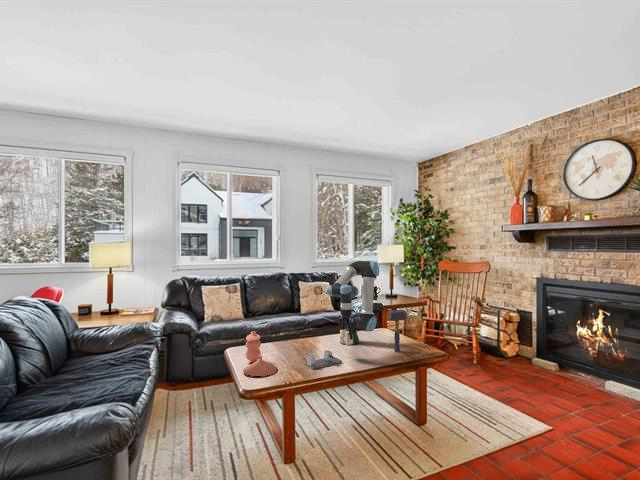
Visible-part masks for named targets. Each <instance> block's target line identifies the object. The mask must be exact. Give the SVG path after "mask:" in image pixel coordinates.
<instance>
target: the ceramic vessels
mask: <svg viewBox="0 0 640 480" xmlns="http://www.w3.org/2000/svg"><path fill="white" fill-rule="evenodd" d="M260 339H261V336H260V335H259V334H257V332H256V331H250V334H248V335H247V336H246V337H245V340H246V343H245V348H246V352H245V358H246V359H247V360H248V361H249V362H253V363H252V364H249V365H247V367H245V368H244V369H242V373H243V372H244V373H245V374H247V375H246V376H248V375H250V376H249V377H253V376H261V377H267V375H268V376H271V375H274V374H276V373H277V372H278V370H279V369H278V367H277V366H275V365H273V364H271V363H269V362H268V361H266V360H264V359H263V355H262V353H261V350H260V349H259V348H260V347H261V345H262V343H261V340H260ZM244 373H243V374H244ZM245 374H244V375H245Z"/></svg>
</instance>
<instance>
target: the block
mask: <svg viewBox="0 0 640 480" xmlns="http://www.w3.org/2000/svg"><path fill="white" fill-rule="evenodd" d="M348 334H349V331H348V330H347V329H344V330H340V329H339V343H340V342H341V343H340V344H342V343H344V344H343V345H345V344H346V346H351V345H350V344H348ZM352 344H353V339H352Z"/></svg>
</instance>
